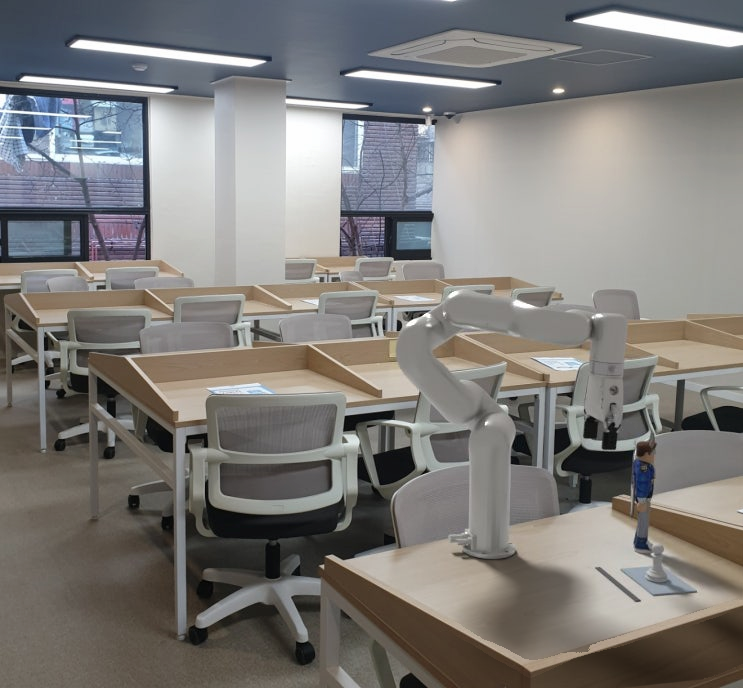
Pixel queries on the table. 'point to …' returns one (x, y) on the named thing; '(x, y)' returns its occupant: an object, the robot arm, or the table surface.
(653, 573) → the chess piece
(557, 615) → the table surface
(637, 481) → the figurine
